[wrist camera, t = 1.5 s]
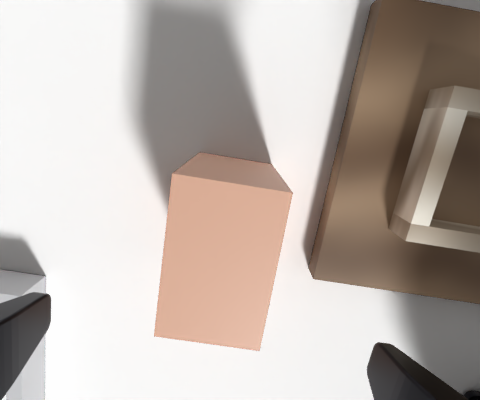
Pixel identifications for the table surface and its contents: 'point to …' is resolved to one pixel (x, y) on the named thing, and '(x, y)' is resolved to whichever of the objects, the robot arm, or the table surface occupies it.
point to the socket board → (408, 158)
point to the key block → (221, 250)
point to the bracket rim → (33, 374)
